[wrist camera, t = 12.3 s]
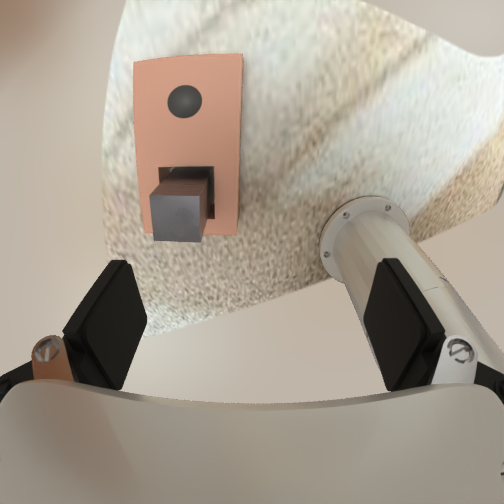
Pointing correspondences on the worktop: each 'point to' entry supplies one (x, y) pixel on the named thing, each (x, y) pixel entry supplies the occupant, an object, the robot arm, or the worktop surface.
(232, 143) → the bore block
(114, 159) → the worktop surface
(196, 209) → the square peg
